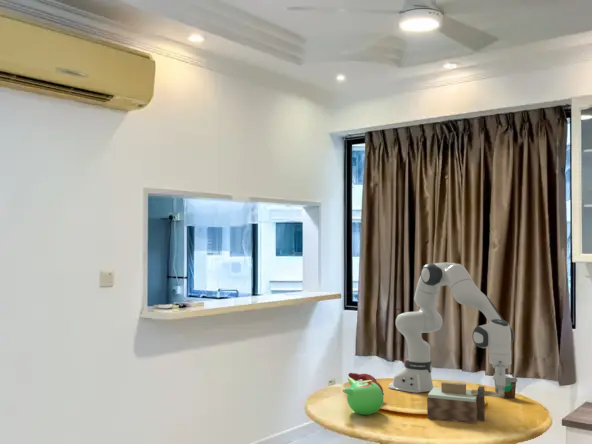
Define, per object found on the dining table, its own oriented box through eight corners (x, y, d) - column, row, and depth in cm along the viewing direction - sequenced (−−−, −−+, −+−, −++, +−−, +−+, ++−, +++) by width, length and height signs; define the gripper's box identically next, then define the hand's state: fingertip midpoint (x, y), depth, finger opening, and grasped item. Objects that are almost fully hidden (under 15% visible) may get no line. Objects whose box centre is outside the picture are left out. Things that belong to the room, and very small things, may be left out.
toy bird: (382, 420, 252) (382, 385, 252) (342, 418, 255) (342, 383, 255) (384, 408, 269) (384, 375, 270) (347, 406, 273) (346, 374, 273)
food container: (487, 395, 292) (487, 374, 293) (495, 393, 296) (495, 372, 296) (510, 400, 283) (509, 379, 283) (517, 398, 286) (517, 377, 286)
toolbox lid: (428, 399, 255) (427, 384, 255) (433, 391, 268) (433, 377, 268) (475, 404, 247) (475, 389, 247) (479, 396, 260) (478, 381, 260)
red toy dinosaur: (357, 396, 306) (339, 376, 302) (368, 383, 309) (351, 363, 305) (388, 411, 280) (369, 389, 276) (400, 396, 283) (381, 374, 279)
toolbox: (427, 418, 255) (427, 386, 255) (433, 409, 267) (433, 379, 268) (482, 425, 246) (482, 392, 246) (485, 415, 259) (485, 384, 259)
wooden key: (471, 394, 253) (471, 383, 253) (472, 393, 256) (471, 382, 256) (503, 397, 248) (503, 386, 248) (504, 396, 251) (504, 385, 251)
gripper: (508, 364, 240) (509, 399, 239) (507, 355, 259) (507, 387, 259) (492, 363, 241) (492, 398, 241) (492, 354, 261) (492, 386, 261)
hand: (500, 392), depth 250 cm, fingers closed on wooden key, 3 cm apart
